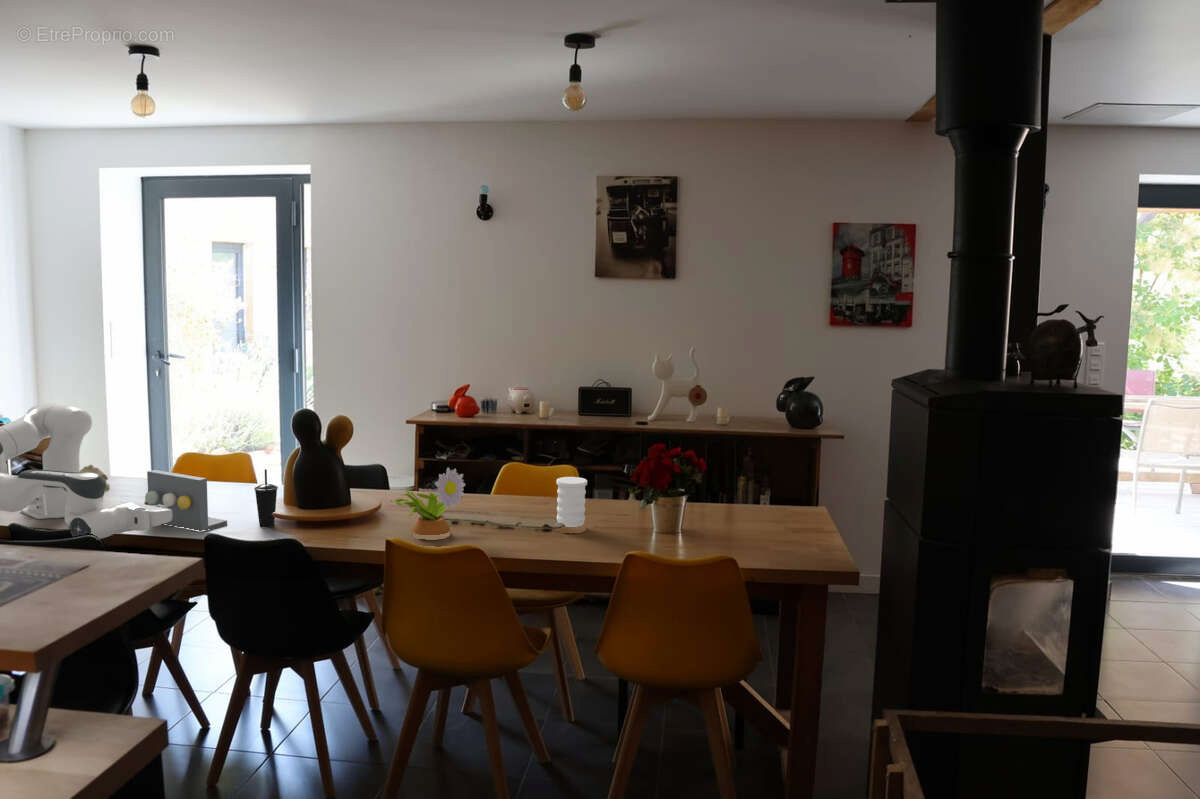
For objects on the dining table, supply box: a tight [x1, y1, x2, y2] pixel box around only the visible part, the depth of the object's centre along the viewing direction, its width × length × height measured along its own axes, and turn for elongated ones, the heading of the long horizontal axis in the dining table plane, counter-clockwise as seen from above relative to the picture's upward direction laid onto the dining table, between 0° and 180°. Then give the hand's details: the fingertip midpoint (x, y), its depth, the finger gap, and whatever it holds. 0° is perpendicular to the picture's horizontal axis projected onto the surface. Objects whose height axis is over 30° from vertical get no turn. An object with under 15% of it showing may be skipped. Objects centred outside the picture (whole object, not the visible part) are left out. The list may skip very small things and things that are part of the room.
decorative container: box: [556, 476, 588, 527], centre depth 311 cm, size 12×12×18 cm
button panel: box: [146, 469, 228, 531], centre depth 303 cm, size 25×11×18 cm, turn 65°
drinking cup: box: [253, 468, 279, 528], centre depth 303 cm, size 8×8×20 cm
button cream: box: [163, 493, 177, 507], centre depth 297 cm, size 4×2×4 cm, turn 66°
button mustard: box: [177, 495, 192, 509], centre depth 294 cm, size 4×2×4 cm, turn 66°
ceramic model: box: [80, 464, 111, 491], centre depth 346 cm, size 14×11×10 cm
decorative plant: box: [390, 467, 466, 535], centre depth 300 cm, size 27×24×25 cm
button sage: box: [144, 491, 159, 505], centre depth 299 cm, size 4×2×4 cm, turn 65°
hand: (164, 507), depth 287 cm, fingers closed
